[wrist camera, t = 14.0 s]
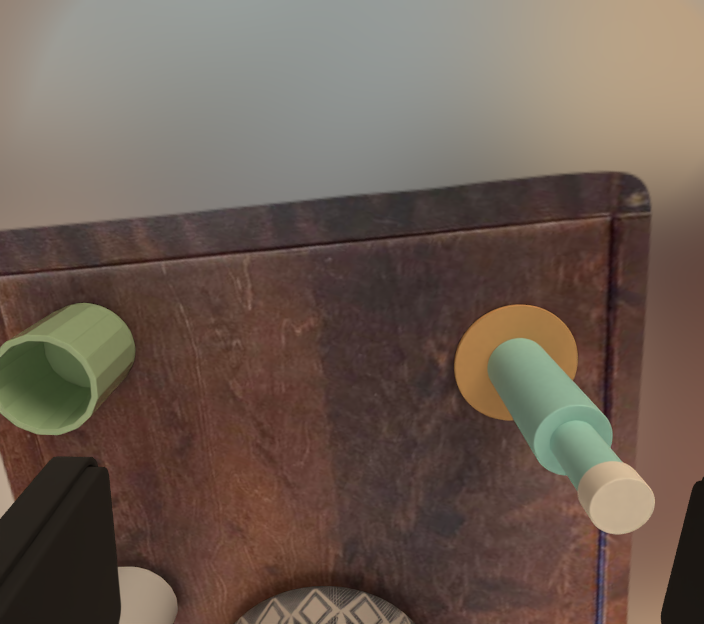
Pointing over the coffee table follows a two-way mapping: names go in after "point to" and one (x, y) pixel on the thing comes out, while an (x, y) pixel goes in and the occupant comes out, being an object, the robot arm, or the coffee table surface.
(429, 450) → the coffee table surface
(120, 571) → the can
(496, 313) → the coaster
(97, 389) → the holder
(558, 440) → the bottle
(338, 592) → the planter
